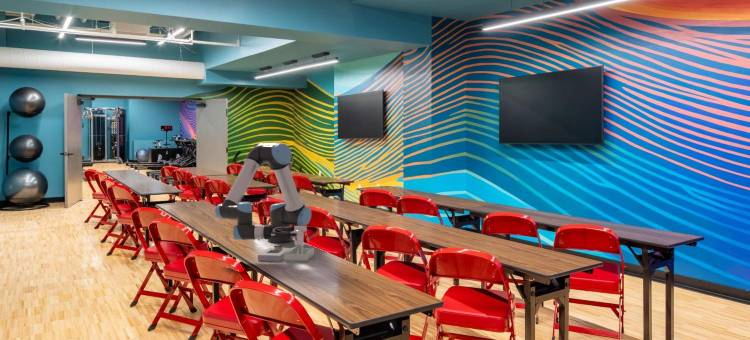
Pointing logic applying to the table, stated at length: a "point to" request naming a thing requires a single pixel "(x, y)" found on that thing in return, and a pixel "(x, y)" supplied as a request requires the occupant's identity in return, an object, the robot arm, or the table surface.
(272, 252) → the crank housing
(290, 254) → the parts tray
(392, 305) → the table surface
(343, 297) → the table surface
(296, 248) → the shiny metal cylinder
